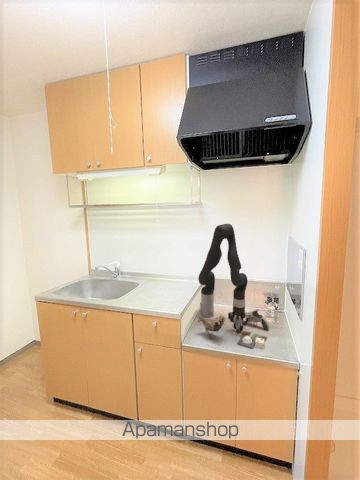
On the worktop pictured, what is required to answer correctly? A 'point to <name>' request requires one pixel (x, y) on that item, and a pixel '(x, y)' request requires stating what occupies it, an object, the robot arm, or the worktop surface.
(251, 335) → the track
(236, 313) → the robot arm
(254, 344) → the popper base
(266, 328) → the gun
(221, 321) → the stuffed bird
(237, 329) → the pawn
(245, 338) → the dome
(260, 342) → the die
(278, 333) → the worktop surface
